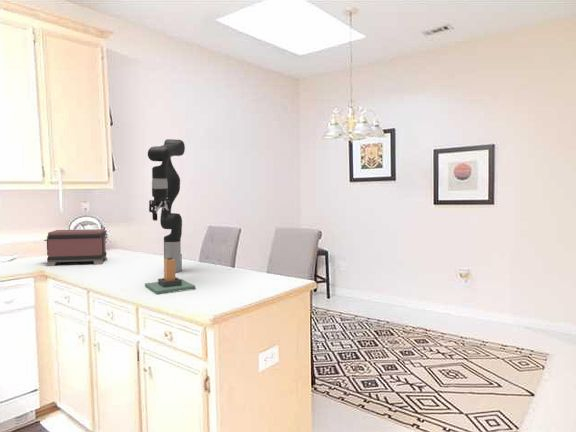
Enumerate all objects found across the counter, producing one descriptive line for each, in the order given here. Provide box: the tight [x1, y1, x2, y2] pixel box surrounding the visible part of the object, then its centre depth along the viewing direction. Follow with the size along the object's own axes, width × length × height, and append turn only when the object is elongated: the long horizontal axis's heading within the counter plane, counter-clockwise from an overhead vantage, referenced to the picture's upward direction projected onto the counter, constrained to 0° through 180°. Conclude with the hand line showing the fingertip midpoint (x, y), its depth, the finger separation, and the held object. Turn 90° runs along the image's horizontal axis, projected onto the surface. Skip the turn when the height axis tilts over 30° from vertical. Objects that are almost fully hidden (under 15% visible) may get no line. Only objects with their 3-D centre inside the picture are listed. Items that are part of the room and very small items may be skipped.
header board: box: [144, 276, 196, 295], centre depth 189 cm, size 18×18×4 cm
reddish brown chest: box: [43, 228, 108, 267], centre depth 254 cm, size 19×34×21 cm, turn 104°
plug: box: [163, 258, 176, 281], centre depth 189 cm, size 4×4×13 cm
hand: (160, 219), depth 204 cm, fingers open, 8 cm apart
